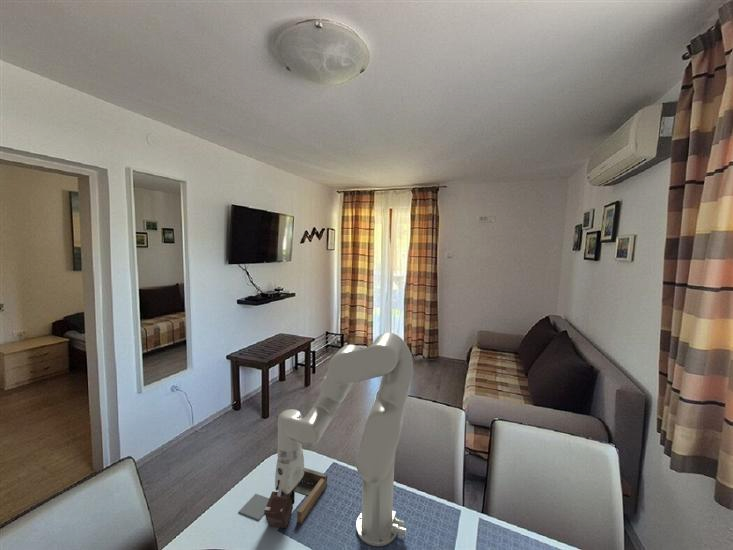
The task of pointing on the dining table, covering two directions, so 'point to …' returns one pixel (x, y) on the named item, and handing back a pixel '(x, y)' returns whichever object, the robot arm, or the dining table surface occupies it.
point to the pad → (255, 507)
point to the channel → (310, 490)
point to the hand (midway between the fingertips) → (288, 503)
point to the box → (278, 510)
